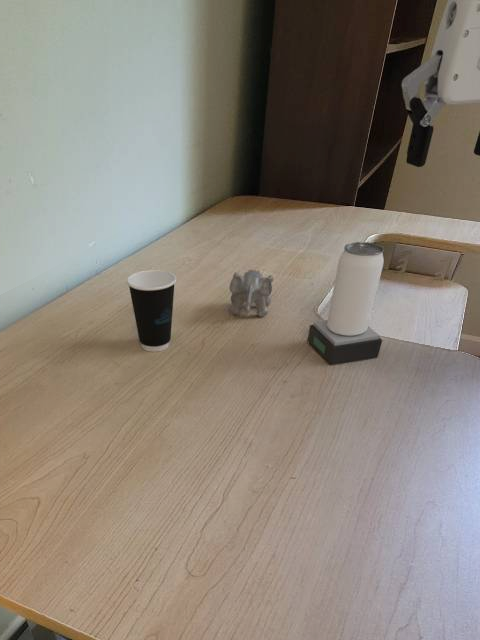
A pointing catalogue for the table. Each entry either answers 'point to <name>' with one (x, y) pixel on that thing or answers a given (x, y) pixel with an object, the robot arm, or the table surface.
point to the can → (355, 288)
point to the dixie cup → (153, 307)
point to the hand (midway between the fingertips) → (449, 160)
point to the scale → (343, 344)
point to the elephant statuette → (251, 292)
